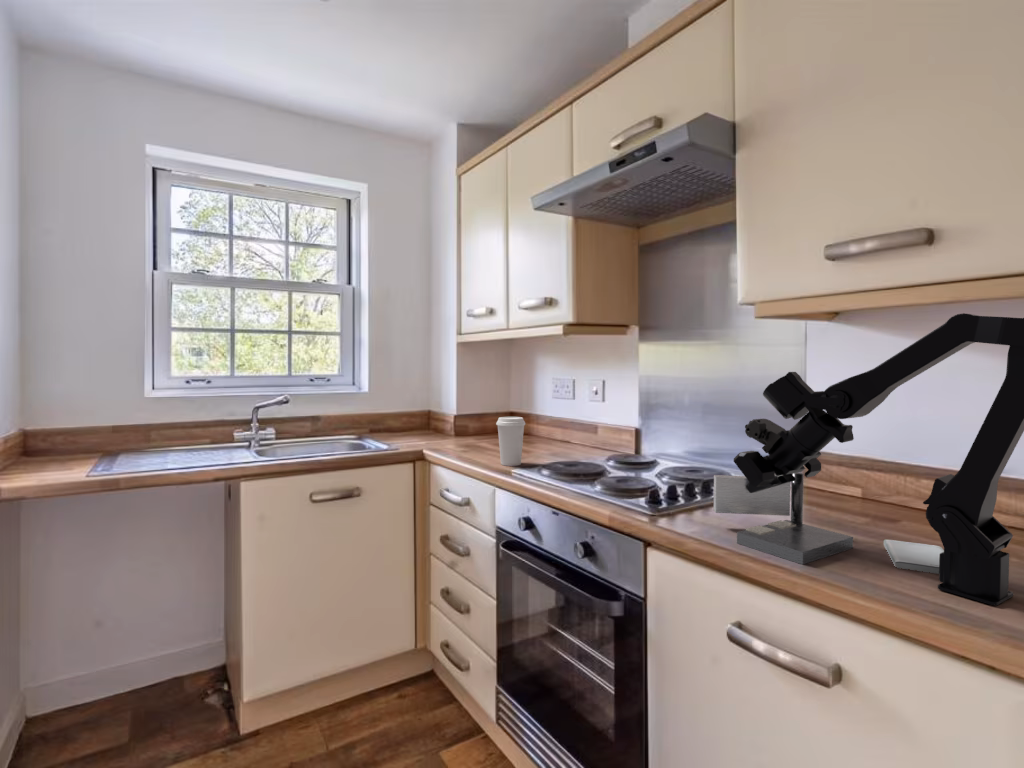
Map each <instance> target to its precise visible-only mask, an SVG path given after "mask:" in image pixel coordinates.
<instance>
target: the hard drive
mask: <svg viewBox="0 0 1024 768" xmlns="http://www.w3.org/2000/svg"><path fill="white" fill-rule="evenodd" d="M883 547H884V549H885V550H887V551H886V553H887V552H888V553H887V555H888V554H889V555H888V556H890V557H889V558H891V559H890V560H892V561H891V562H893V563H892V564H894V565H893V567H894V566H895V567H897V568H896V569H901V568H902V569H901V570H903V569H904V570H908V569H910V570H909V571H915V570H917V572H922V571H923V572H924V573H929V572H930V573H929V574H937V575H939V557H940V553H942V552H944V548H943V547H942V546H939V545H933V544H926V543H919V542H910V541H903V540H895V539H894V540H893V539H884V540H883ZM895 567H894V568H895ZM923 572H922V573H923Z"/></svg>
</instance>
